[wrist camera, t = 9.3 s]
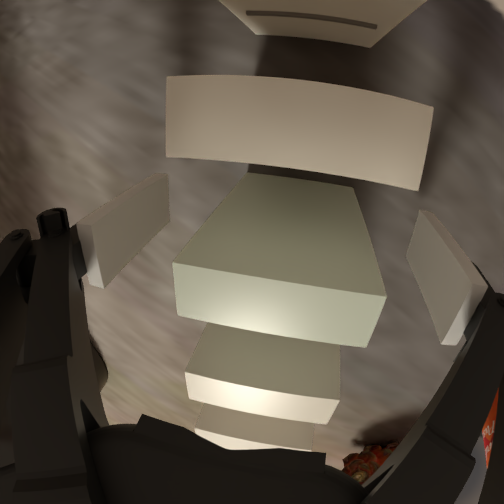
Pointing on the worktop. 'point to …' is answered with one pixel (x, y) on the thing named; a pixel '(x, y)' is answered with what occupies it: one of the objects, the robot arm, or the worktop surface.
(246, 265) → the domino
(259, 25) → the domino
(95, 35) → the worktop surface
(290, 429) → the domino
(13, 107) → the worktop surface
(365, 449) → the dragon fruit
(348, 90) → the domino
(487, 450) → the paper cup
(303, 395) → the domino
